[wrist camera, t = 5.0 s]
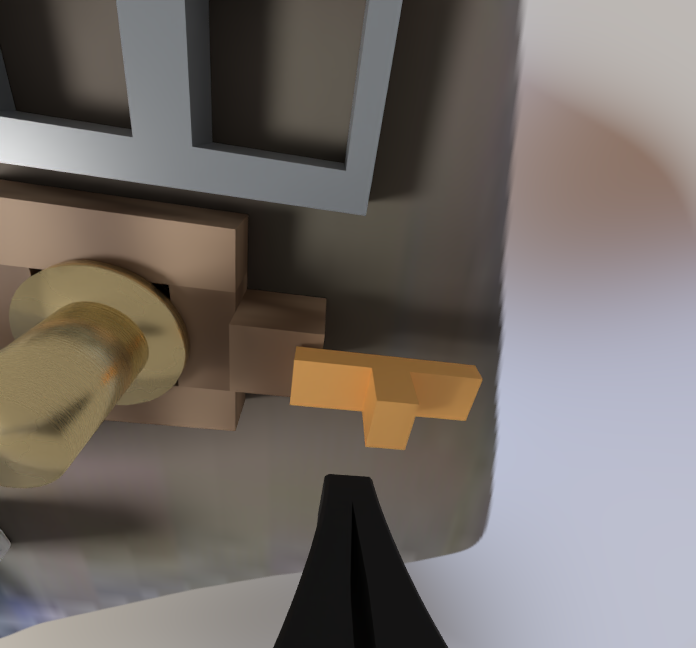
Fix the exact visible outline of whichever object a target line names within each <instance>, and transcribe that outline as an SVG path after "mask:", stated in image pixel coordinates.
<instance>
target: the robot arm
mask: <svg viewBox="0 0 696 648" xmlns="http://www.w3.org/2000/svg"><path fill="white" fill-rule="evenodd" d="M273 648H448V646H447V645H446V643H445V642H444V640H443V638H442V636H441V634H440V633H439V631H438V629H437V627H436V626H435V624H434V622H433V620H432V618H431V617H430V615H429V613H428V611H427V609H426V607H425V605H424V603H423V602H422V600H421V598H420V596H419V594H418V592H417V590H416V588H415V586H414V584H413V582H412V580H411V578H410V575H409V573H408V572H407V569H406V567H405V565H404V563H403V560H402V558H401V556H400V554H399V551H398V549H397V547H396V544H395V542H394V540H393V537H392V535H391V533H390V530H389V528H388V525H387V523H386V520H385V517H384V515H383V512H382V509H381V507H380V504H379V501H378V498H377V495H376V492H375V488H374V485H373V481H372V479H371V478H370V477H363V476H349V475H335V474H328V475H327V476H325V478H324V484H323V489H322V495H321V500H320V506H319V512H318V522H317V528H316V531H315V535H314V539H313V542H312V546H311V549H310V552H309V555H308V558H307V561H306V564H305V567H304V570H303V573H302V576H301V579H300V582H299V585H298V587H297V590H296V593H295V595H294V598H293V601H292V604H291V606H290V609H289V611H288V613H287V616H286V618H285V621H284V624H283V626H282V629H281V631H280V633H279V636H278V638H277V640H276V643H275V645H274V647H273Z"/></svg>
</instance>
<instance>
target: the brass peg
mask: <svg viewBox="0 0 696 648" xmlns="http://www.w3.org/2000/svg"><path fill="white" fill-rule="evenodd" d="M9 321H10V327H11V331H12V335H13V337H14V339H15V340H14V341H13V342H11V343H10V344H9V345H7V346H6V347H4V348H3V349H1V350H0V486H4V487H12V488H33V487H39V486H43V485H47V484H49V483H52V482H54V481H55V480H57V479H59V478H60V477H61V476H62V475H63V474H64V472H65V471H66V470H67V469H68V467H69V466H70V465H71V463H72V462H73V461H74V459H75V458H76V457H77V455H78V454H79V453H80V451H81V450H82V449H83V447H84V446H85V445H86V443H87V442H88V441H89V439H90V438H91V437H92V435H93V434H94V433H95V432H96V430H97V429H98V428H99V426H100V425H101V424H102V422H103V421H104V420H105V418H106V417H107V416H108V414H109V413H110V412H111V410H112V409H113V408H114V406H115V405H133V404H139V403H144V402H147V401H151V400H153V399H155V398H158V397H160V396H161V395H163V394H164V393H166V392H167V391H168V390H169V389H171V388H172V387H173V385H174V384H175V383H176V382H177V380H178V378H179V377H180V375H181V373H182V372H183V370H184V368H185V366H186V364H187V361H188V358H189V352H190V342H189V335H188V332H187V329H186V325H185V323H184V321H183V319H182V317H181V315H180V314H179V312H178V310H177V309H176V307H175V306H174V305H173V304H172V302H171V301H170V292H169V291H168V290H167V289H166V288H165V287H164V286H163V285H162V284H159V283H151V282H148V281H147V280H145V279H144V278H142V277H140V276H139V275H137V274H135V273H133V272H131V271H129V270H126V269H124V268H121V267H119V266H116V265H112V264H109V263H105V262H99V261H92V260H71V261H66V262H61V263H58V264H55V265H52V266H49V267H48V268H46V269H44V270H42V271H40V272H38V273H36V274H35V275H33V276H31V277H29V278H28V279H27V280H26V281H24V282H23V283H22V284H21V285H20V286H19V288H18V289H17V290H16V292H15V294H14V296H13V298H12V300H11V304H10V309H9Z"/></svg>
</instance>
